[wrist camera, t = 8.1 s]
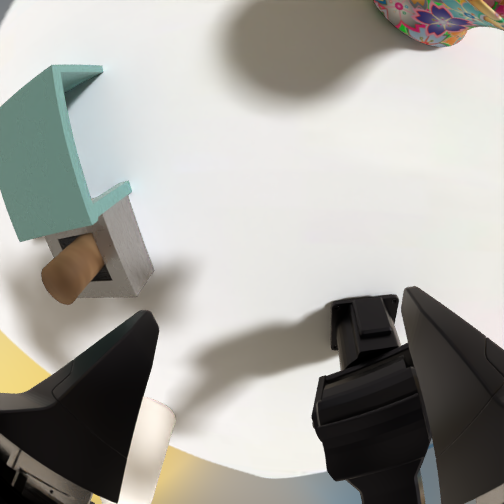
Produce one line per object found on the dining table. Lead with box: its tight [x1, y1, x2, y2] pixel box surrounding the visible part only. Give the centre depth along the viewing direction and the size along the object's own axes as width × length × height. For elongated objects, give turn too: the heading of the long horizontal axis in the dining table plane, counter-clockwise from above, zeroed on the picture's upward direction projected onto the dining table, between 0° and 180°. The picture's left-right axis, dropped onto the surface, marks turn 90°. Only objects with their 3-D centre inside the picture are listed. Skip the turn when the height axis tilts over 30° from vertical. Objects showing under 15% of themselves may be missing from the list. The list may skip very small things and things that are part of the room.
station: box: [0, 65, 154, 297], centre depth 19 cm, size 19×10×6 cm, turn 10°
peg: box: [41, 233, 105, 305], centre depth 21 cm, size 4×4×8 cm
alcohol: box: [100, 397, 176, 504], centre depth 28 cm, size 9×9×30 cm
